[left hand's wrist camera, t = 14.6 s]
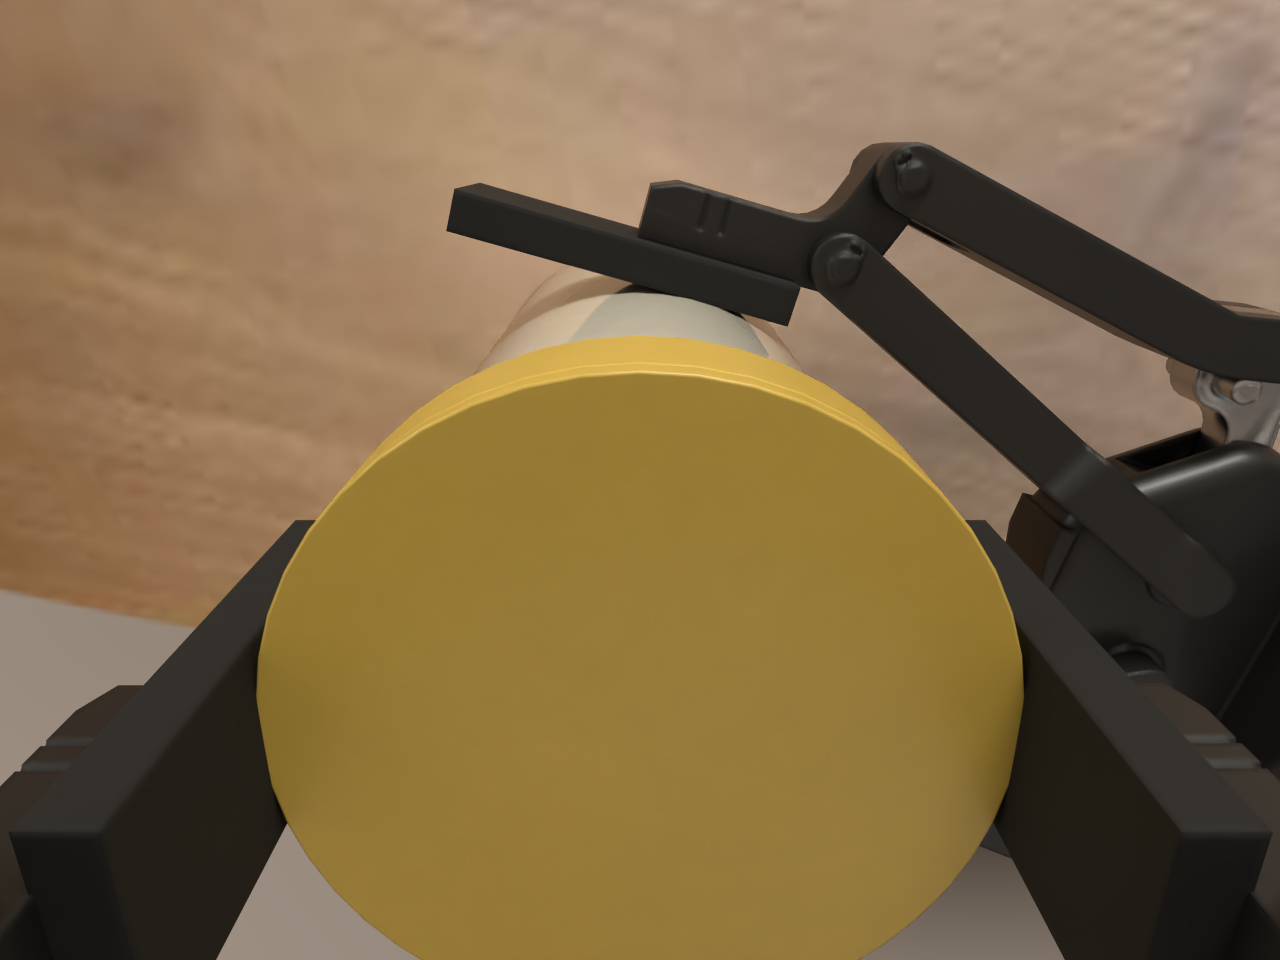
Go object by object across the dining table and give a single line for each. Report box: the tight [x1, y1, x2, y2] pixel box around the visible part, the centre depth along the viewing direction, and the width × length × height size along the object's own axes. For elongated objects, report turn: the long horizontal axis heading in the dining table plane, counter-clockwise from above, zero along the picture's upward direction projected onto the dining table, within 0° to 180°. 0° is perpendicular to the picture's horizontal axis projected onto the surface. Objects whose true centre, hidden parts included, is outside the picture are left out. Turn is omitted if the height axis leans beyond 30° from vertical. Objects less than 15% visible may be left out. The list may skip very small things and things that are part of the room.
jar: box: [473, 265, 807, 375], centre depth 18 cm, size 8×8×15 cm
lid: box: [256, 336, 1024, 960], centre depth 11 cm, size 9×9×2 cm
